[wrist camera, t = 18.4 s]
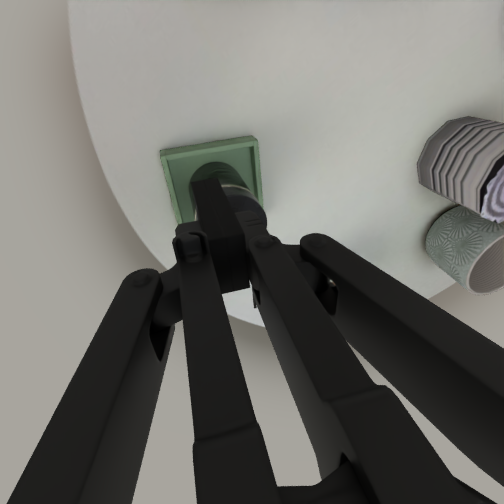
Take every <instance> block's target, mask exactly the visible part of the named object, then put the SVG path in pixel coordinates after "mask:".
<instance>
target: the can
mask: <svg viewBox="0 0 504 504" xmlns="http://www.w3.org/2000/svg"><path fill="white" fill-rule="evenodd" d="M417 168H418V176H419V183H420V184H422V185H423V186H425V187H427V188H428V189H430V190H432V191H433V192H436V193H438V194H440V195H442V196H444V197H446V198H448V199H450V200H452V201H454V202H456V203H458V204H460V205H462V206H464V207H466V208H468V209H470V210H472V211H474V212H476V213H478V214H480V215H481V217H484V218H486V219H488V220H490V221H493V222H495V223H497V224H499V223H500V222H502V221H504V123H501V122H496V121H491V120H485V119H480V118H475V117H470V116H468V117H464V118H459V119H455V120H450V121H447V122H446V123H445V124H444V125H443V126H442V127H441V128H440V129H439V130H437V131H436V132H435V133H434V134H433V135H432V136H431V137H430V138H429V139H428V140H427V142H426V144H425V147H424V149H423V151H422V153H421V156H420V158H419V160H418V162H417Z"/></svg>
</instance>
